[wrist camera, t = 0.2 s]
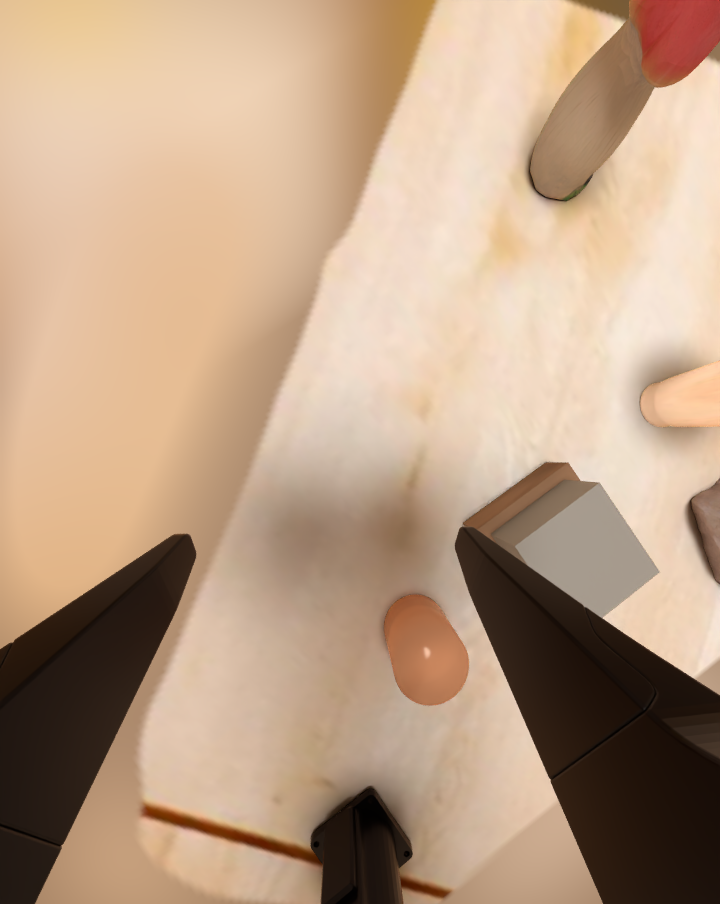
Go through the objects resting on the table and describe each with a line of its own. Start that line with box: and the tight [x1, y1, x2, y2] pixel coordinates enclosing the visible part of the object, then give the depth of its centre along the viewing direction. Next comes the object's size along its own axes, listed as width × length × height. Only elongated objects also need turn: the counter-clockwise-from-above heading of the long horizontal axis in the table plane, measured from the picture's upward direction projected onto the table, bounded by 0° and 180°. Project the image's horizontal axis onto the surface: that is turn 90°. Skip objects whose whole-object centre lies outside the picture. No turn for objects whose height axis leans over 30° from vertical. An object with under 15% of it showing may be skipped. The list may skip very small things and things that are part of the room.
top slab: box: [491, 480, 659, 618], centre depth 20 cm, size 8×8×3 cm
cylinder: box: [384, 594, 469, 705], centre depth 21 cm, size 6×6×4 cm
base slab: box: [463, 462, 580, 543], centre depth 23 cm, size 10×10×3 cm
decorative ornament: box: [530, 0, 720, 201], centre depth 18 cm, size 9×6×15 cm
